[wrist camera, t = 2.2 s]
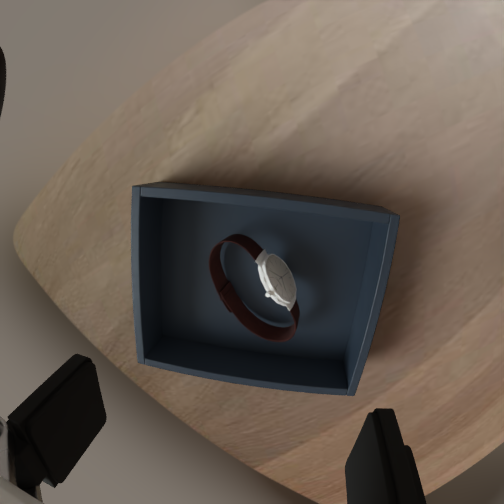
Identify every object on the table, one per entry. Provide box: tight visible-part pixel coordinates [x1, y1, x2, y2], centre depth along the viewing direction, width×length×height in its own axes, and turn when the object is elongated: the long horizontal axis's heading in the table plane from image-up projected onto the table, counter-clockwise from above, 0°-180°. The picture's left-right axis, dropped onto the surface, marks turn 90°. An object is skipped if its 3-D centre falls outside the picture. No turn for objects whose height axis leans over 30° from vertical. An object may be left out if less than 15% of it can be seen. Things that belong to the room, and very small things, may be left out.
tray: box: [131, 182, 400, 396], centre depth 20 cm, size 15×12×4 cm
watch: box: [209, 234, 300, 342], centre depth 20 cm, size 8×5×4 cm, turn 34°
